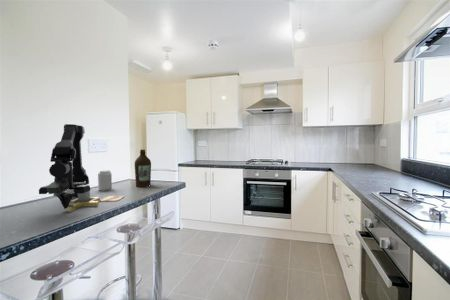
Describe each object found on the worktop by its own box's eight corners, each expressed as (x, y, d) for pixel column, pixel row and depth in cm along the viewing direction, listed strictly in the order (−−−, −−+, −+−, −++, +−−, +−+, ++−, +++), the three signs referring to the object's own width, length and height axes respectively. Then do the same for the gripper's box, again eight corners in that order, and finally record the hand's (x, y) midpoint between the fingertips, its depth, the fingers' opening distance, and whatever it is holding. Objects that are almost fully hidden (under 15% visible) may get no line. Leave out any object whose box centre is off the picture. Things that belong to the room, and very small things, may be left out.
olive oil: (133, 185, 154) (133, 149, 152) (149, 183, 159) (148, 149, 158) (136, 188, 145) (135, 150, 143) (153, 186, 150) (152, 149, 149)
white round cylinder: (75, 205, 107) (75, 187, 106) (81, 202, 112) (81, 185, 111) (86, 205, 107) (86, 187, 107) (92, 202, 112) (91, 184, 112)
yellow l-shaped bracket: (66, 211, 98) (66, 205, 98) (77, 205, 106) (77, 200, 106) (88, 211, 99) (88, 204, 99) (98, 205, 107) (98, 199, 107)
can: (96, 191, 137) (96, 171, 136) (100, 188, 144) (99, 170, 143) (110, 190, 139) (109, 171, 138) (113, 188, 146) (112, 169, 145)
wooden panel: (99, 201, 114) (99, 200, 114) (107, 196, 123) (107, 196, 123) (117, 201, 115) (117, 200, 115) (124, 196, 124) (124, 195, 124)
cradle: (70, 205, 107) (69, 201, 107) (78, 201, 115) (78, 197, 115) (93, 204, 108) (93, 200, 108) (101, 200, 116) (101, 196, 115)
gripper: (27, 177, 90) (29, 214, 91) (76, 176, 91) (77, 213, 92) (47, 172, 101) (48, 206, 102) (90, 172, 102) (91, 205, 103)
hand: (65, 208), depth 99 cm, fingers closed
